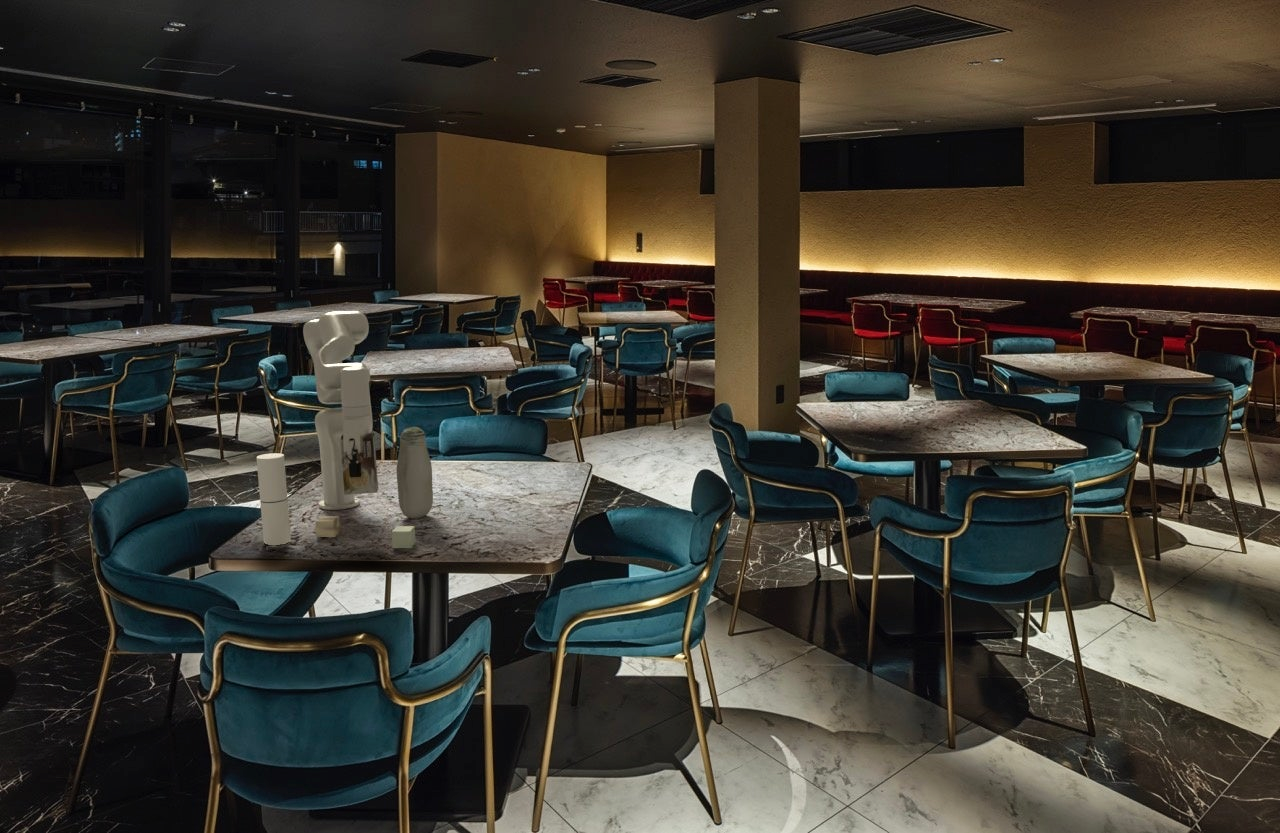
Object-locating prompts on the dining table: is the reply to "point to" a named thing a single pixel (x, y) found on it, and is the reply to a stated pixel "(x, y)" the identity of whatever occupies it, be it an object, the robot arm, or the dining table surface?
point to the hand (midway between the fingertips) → (360, 472)
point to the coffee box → (368, 469)
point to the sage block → (403, 537)
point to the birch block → (327, 526)
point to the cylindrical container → (273, 498)
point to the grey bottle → (414, 474)
